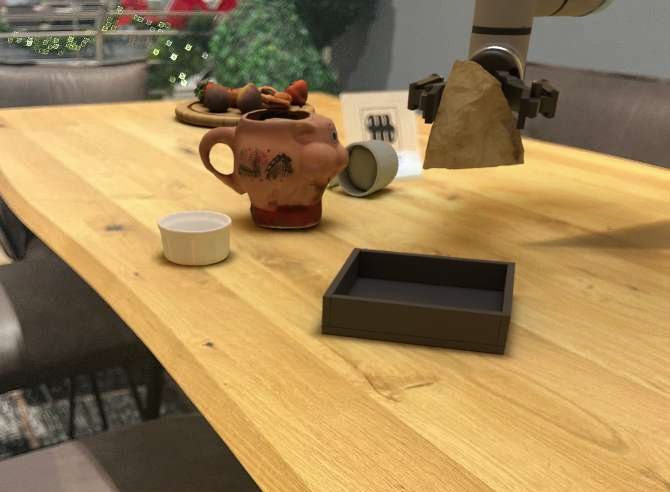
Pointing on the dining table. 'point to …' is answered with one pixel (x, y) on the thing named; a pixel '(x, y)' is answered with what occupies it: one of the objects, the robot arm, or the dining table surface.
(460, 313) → the tray
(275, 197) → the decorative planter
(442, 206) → the dining table surface
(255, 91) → the wooden plate
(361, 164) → the ceramic mug
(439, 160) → the rock
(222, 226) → the ramekin
